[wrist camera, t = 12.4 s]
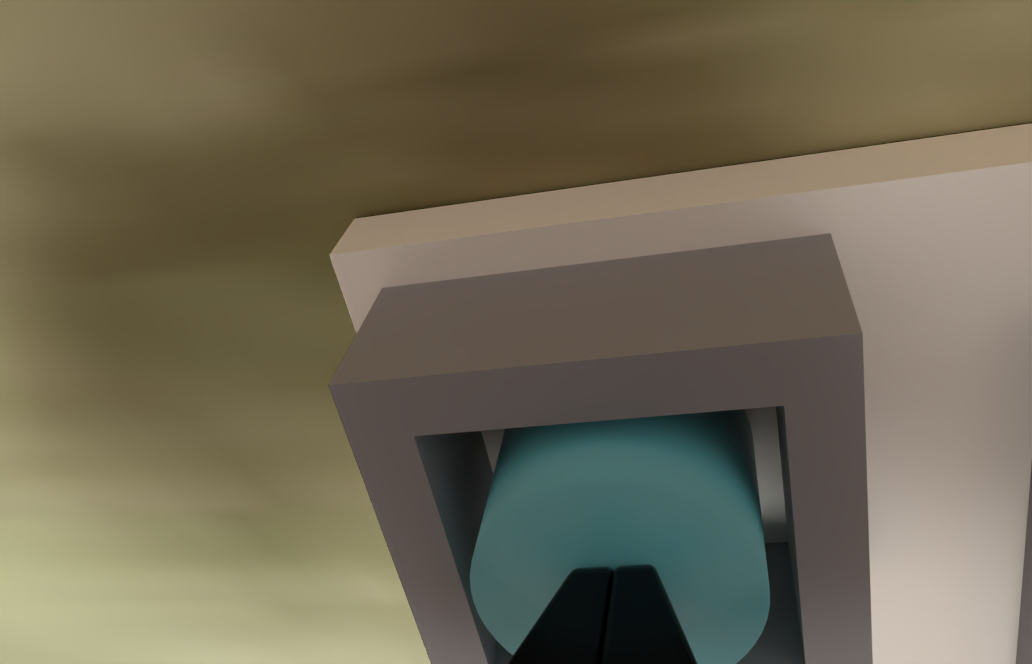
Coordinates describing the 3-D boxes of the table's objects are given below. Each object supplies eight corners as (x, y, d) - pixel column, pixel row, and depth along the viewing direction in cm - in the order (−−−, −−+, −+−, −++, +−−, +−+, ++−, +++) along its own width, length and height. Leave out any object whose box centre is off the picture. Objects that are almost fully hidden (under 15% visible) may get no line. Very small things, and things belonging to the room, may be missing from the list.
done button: (741, 331, 10) (758, 471, 8) (762, 532, 12) (780, 692, 10) (481, 357, 11) (438, 491, 9) (531, 544, 13) (504, 696, 11)
